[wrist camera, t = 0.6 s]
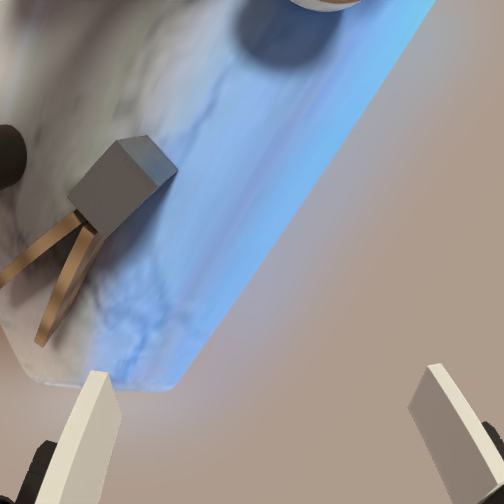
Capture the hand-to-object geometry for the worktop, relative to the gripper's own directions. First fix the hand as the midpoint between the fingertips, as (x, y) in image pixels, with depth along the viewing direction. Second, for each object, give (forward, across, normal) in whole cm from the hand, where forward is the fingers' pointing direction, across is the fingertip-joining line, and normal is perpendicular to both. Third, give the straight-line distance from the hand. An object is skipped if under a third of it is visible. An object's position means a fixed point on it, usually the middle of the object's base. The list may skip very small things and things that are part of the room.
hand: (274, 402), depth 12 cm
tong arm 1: (+26, -24, -2) cm, 35 cm away
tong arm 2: (+26, -21, -6) cm, 33 cm away
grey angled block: (+26, -12, +5) cm, 29 cm away
